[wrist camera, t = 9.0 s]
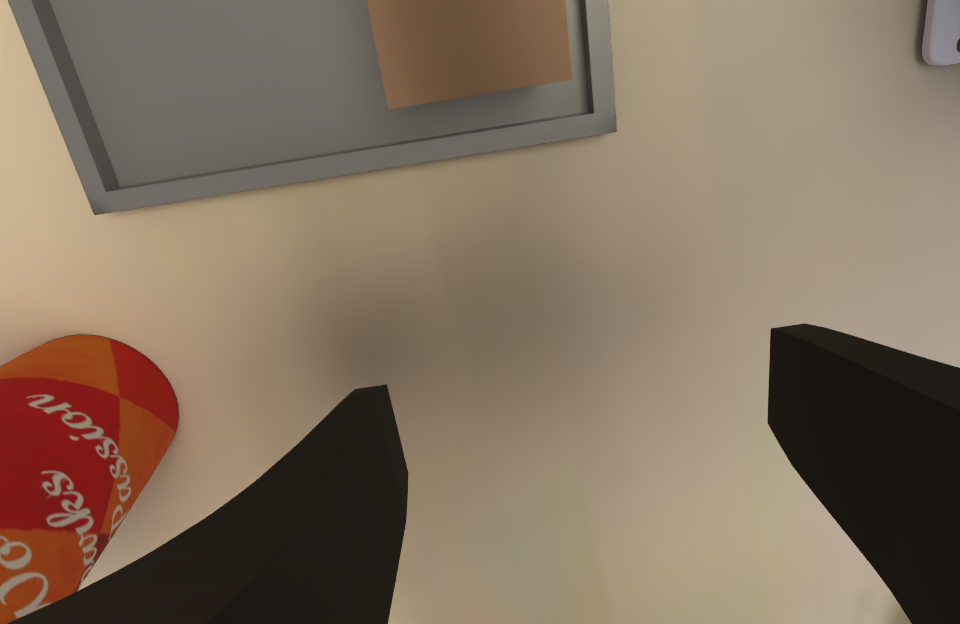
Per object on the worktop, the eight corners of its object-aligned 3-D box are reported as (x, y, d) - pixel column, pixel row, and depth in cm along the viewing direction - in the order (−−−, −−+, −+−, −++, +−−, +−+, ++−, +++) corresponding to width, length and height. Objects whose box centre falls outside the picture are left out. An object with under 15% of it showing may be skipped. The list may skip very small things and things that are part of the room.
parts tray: (586, -175, 16) (596, -193, 15) (607, 127, 19) (616, 131, 17) (8, -71, 16) (-25, -81, 15) (115, 206, 19) (94, 214, 18)
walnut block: (527, -86, 16) (552, -145, 11) (544, 75, 18) (572, 79, 13) (379, -60, 16) (345, -108, 12) (408, 97, 18) (388, 109, 13)
